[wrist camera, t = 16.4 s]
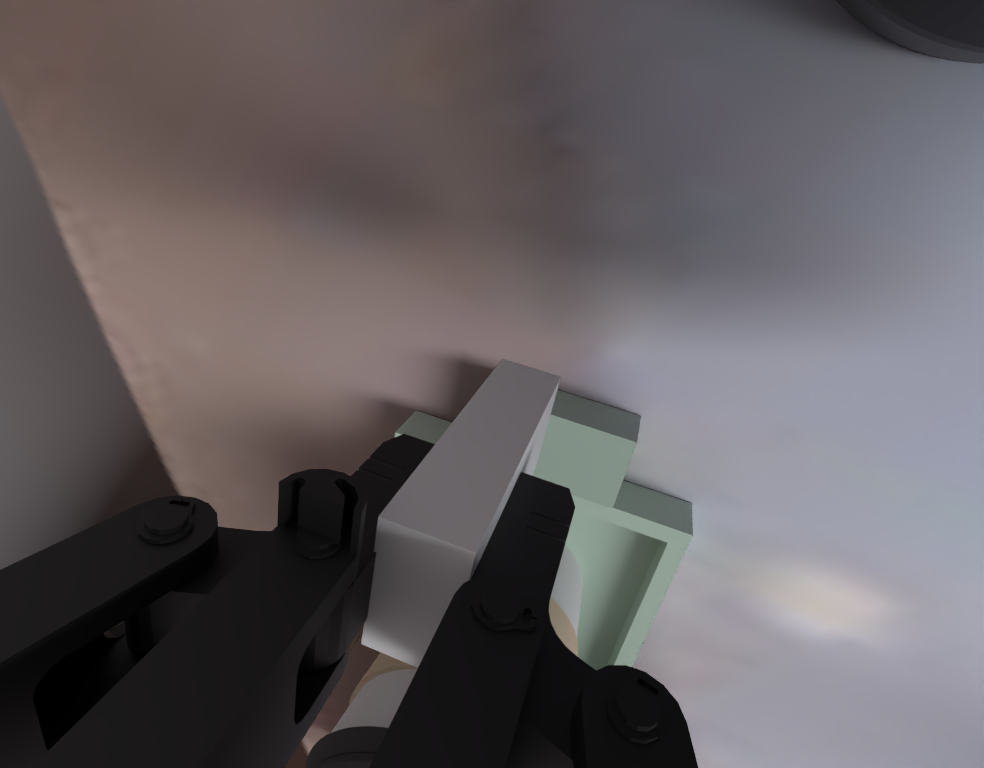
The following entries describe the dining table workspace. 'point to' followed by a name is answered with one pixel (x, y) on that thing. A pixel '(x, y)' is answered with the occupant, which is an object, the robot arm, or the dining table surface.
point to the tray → (604, 523)
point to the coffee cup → (376, 698)
